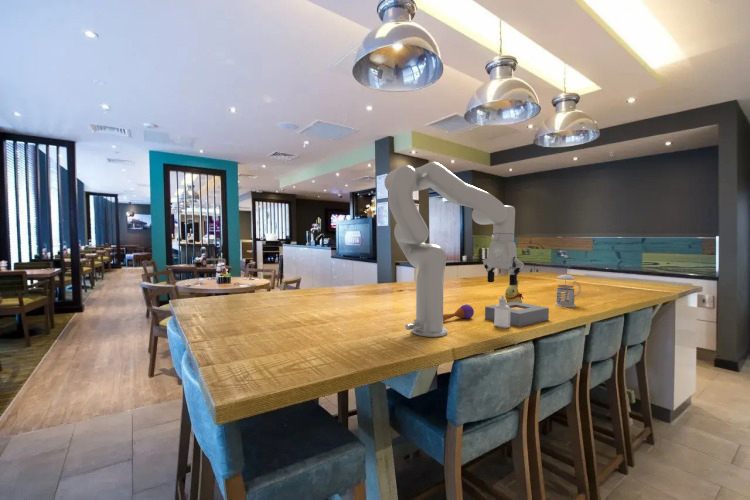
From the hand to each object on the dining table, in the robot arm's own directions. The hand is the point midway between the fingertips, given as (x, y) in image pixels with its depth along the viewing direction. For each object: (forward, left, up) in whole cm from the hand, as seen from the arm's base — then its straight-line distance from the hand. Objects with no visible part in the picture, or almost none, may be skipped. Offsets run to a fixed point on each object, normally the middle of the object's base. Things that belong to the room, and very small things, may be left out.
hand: (501, 283), depth 130 cm
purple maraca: (-7, +17, -17) cm, 25 cm away
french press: (+64, +8, -17) cm, 66 cm away
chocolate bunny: (+34, +17, -17) cm, 41 cm away
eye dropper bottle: (0, 0, -17) cm, 17 cm away
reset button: (+16, +4, -15) cm, 22 cm away
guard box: (+16, +4, -16) cm, 23 cm away
